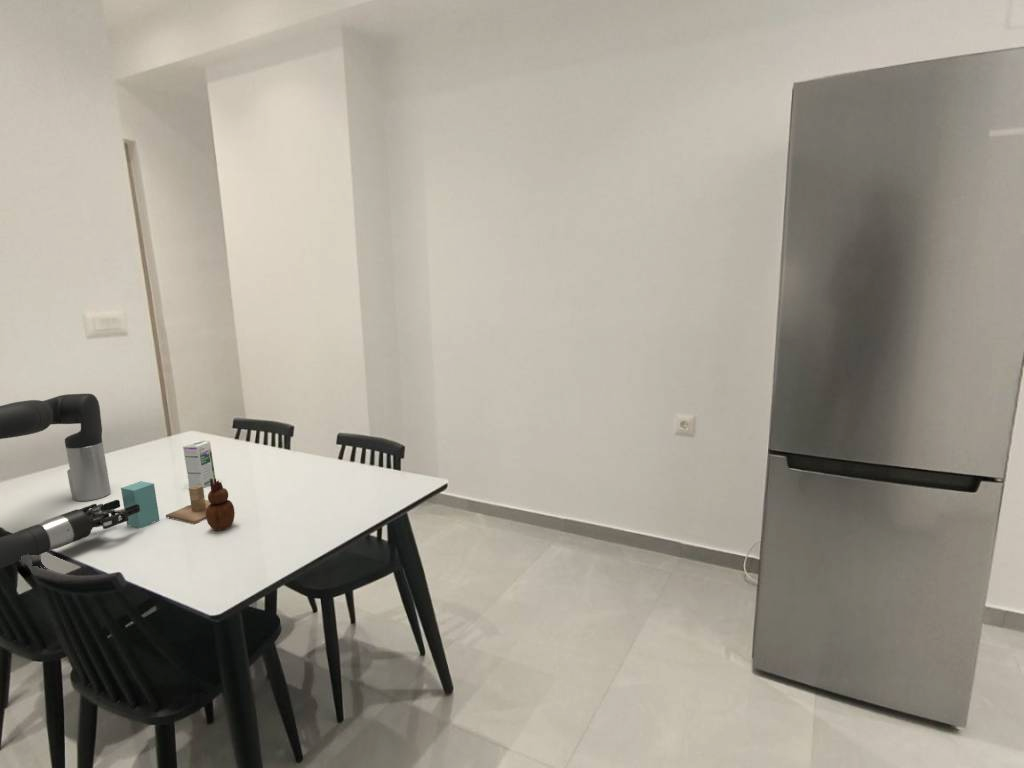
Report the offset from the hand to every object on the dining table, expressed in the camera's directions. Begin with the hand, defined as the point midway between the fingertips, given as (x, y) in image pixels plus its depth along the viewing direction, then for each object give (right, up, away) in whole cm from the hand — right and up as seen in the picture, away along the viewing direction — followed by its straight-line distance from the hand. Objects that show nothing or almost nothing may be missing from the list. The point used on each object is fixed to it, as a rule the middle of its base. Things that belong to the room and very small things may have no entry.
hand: (128, 505), depth 154 cm
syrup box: (+2, 0, +32) cm, 33 cm away
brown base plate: (+14, -4, +10) cm, 18 cm away
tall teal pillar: (+1, -6, +4) cm, 7 cm away
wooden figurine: (+26, -6, -1) cm, 27 cm away
